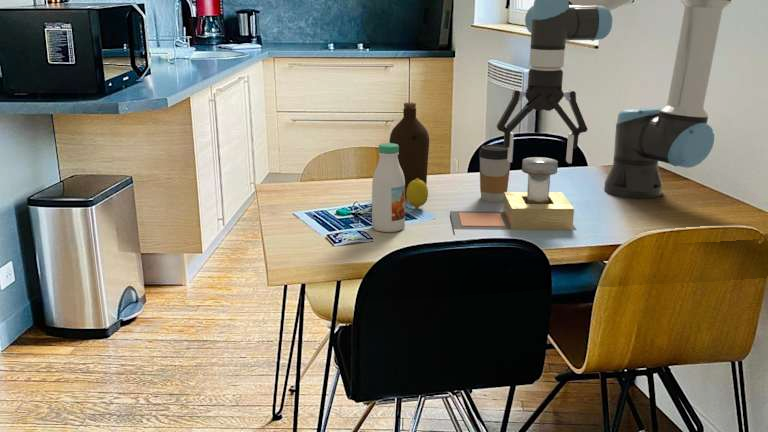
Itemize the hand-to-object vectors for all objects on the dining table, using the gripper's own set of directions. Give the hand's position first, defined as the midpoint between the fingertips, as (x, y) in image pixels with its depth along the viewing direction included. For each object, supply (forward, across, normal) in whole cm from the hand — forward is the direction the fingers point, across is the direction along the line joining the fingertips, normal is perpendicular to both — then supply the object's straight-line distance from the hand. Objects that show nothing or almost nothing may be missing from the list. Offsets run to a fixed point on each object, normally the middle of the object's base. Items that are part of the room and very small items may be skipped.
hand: (539, 161), depth 174 cm
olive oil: (+16, +30, -27) cm, 43 cm away
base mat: (+16, +6, 0) cm, 17 cm away
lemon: (+16, +28, -14) cm, 35 cm away
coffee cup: (+16, +8, -19) cm, 26 cm away
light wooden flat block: (+14, 0, 0) cm, 14 cm away
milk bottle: (+16, +35, +2) cm, 38 cm away
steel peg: (+14, 0, 0) cm, 14 cm away
